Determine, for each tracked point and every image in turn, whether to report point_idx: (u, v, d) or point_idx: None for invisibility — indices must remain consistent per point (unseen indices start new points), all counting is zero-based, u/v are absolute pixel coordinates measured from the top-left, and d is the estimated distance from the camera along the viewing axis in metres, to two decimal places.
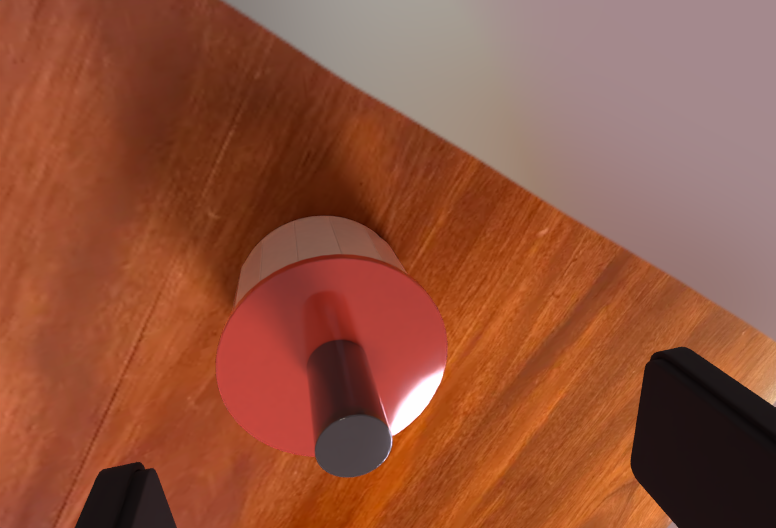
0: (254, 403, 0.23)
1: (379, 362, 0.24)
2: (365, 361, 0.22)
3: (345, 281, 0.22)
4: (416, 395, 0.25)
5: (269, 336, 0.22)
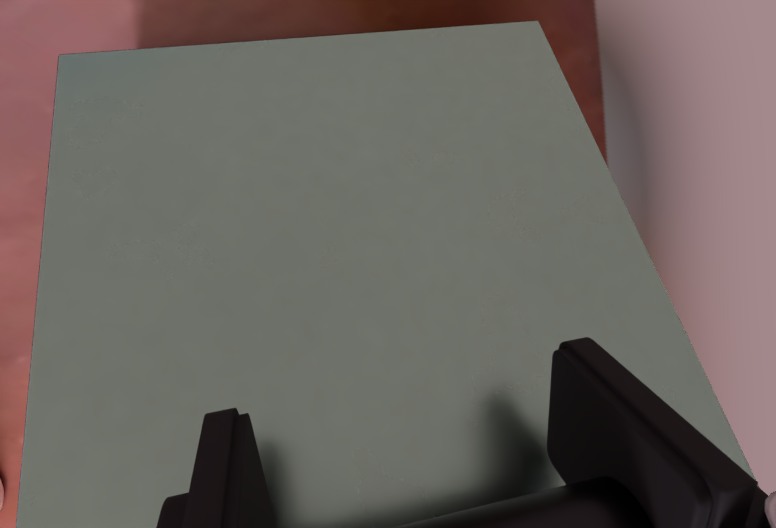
0: None
1: None
2: None
3: None
4: None
5: None
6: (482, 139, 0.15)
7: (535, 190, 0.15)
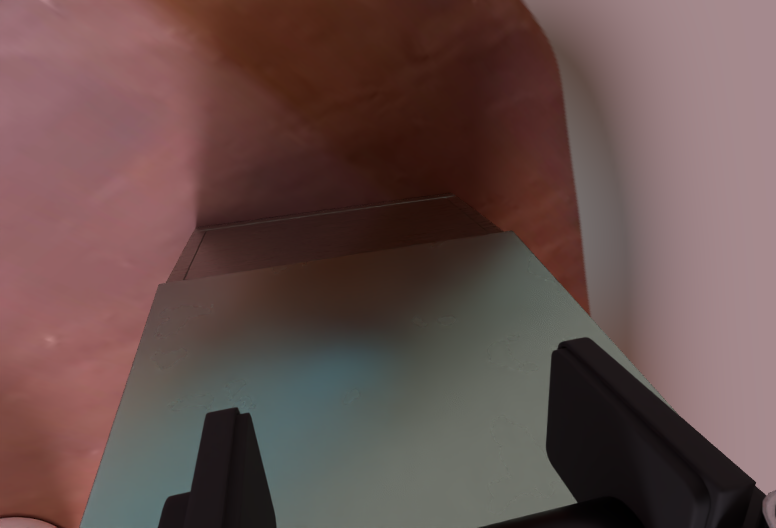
0: None
1: None
2: None
3: None
4: None
5: None
6: (477, 305, 0.19)
7: (527, 335, 0.17)
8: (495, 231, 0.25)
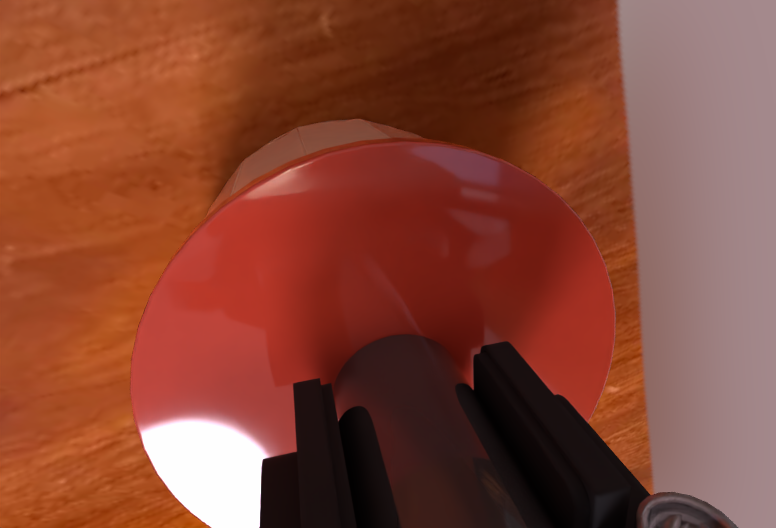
0: (203, 346, 0.10)
1: None
2: None
3: (549, 263, 0.11)
4: None
5: (359, 247, 0.10)
6: None
7: None
8: None
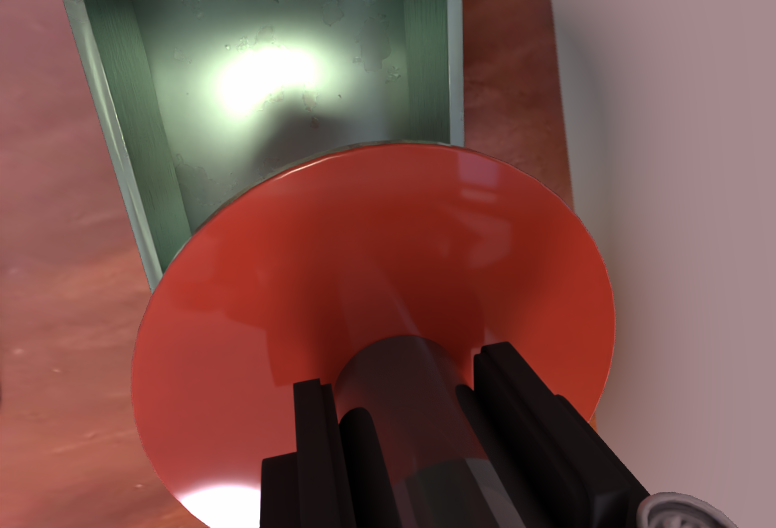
0: (203, 348, 0.10)
1: None
2: None
3: (549, 264, 0.11)
4: None
5: (359, 249, 0.10)
6: None
7: None
8: None
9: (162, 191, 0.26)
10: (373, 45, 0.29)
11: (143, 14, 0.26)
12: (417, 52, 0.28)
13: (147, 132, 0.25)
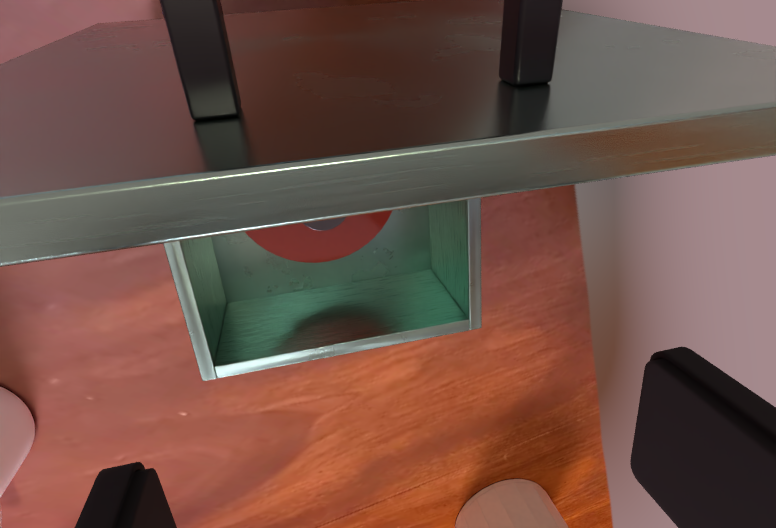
0: None
1: None
2: None
3: None
4: (337, 246, 0.33)
5: None
6: (439, 12, 0.17)
7: (492, 16, 0.16)
8: None
9: None
10: None
11: None
12: None
13: None
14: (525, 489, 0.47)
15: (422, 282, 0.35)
